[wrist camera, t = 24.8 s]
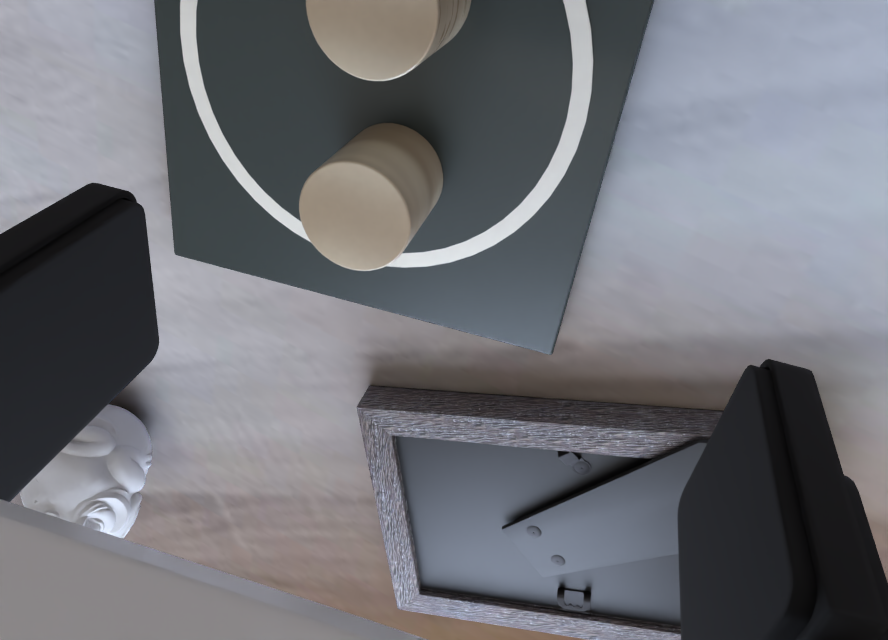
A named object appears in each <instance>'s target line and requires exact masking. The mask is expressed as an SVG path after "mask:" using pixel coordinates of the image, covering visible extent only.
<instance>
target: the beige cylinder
mask: <svg viewBox="0 0 888 640" xmlns="http://www.w3.org/2000/svg"><path fill="white" fill-rule="evenodd" d="M442 187H443V171H442V166H441V163H440V160H439V158H438V156H437V153H436V152H435V150H434V149H433V147H432V146H431V145H430V143H429V142H428V141H427V140H426V139H425V138H424V137H423V136H421V135H420V134H419V133H417V132H416V131H414V130H413V129H410V128H408V127H406V126H403V125H400V124H394V123H381V124H376V125H372V126H370V127H368V128H366V129H364V130H363V131H361V132H360V133H359V134H358V135H357V136H355V137H354V138H353V139H352V140H351V141H349V142H348V143H347V144H346V145H345V146H344V147H342V148H341V149H340V150H339V151H338V152H336V153H335V154H334V155H333V156H332V157H331V158H329V159H328V160H327V161H326V162H325V163H323V164H322V165H321V166H320V167H319V168H318V169H316V170H315V171H314V172H313V173H312V174H311V175H310V176H309V177H308V179H307V180H306V182H305V183H304V186H303V188H302V190H301V194H300V200H299V213H300V219H301V222H302V226H303V228H304V230H305V233H306V235H307V236H308V238H309V240H310V241H311V242H312V244H313V245H314V246H315V247H316V249H317V250H318V251H319V252H320V253H321V254H323V255H324V256H325V257H326V258H328V259H329V260H331V261H332V262H334V263H336V264H338V265H340V266H342V267H345V268H348V269H352V270H358V271H371V270H376V269H380V268H383V267H385V266H387V265H389V264H391V263H392V262H394V261H395V260H396V259H397V258H398V257H399V256H400V255H401V254H402V253H403V251H404V250H405V248H406V247H407V246H408V244H409V243H410V241H411V240H412V238H413V237H414V235H415V234H416V232H417V231H418V229H419V228H420V227H421V225H422V224H423V222H424V221H425V219H426V218H427V216H428V215H429V213H430V212H431V210H432V209H433V208H434V206H435V205H436V203H437V201H438V199H439V197H440V195H441V192H442Z"/></svg>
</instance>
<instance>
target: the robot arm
mask: <svg viewBox="0 0 888 640" xmlns="http://www.w3.org/2000/svg"><path fill="white" fill-rule="evenodd" d="M158 345H159V335H158V326H157V317H156V308H155V299H154V290H153V282H152V273H151V264H150V255H149V246H148V237H147V228H146V219H145V213H144V209H143V207H142V206H141V205H140V204H138V203H137V201H136V199H135V197H134V195H133V194H132V193H130V192H129V191H125V190H121V189H117V188H114V187H110V186H106V185H102V184H98V183H91V184H88V185H86V186H84V187H82V188H80V189H79V190H77V191H75V192H73V193H72V194H70V195H68V196H66V197H65V198H63V199H61V200H59V201H58V202H56V203H54V204H52V205H51V206H49V207H47V208H45V209H44V210H42V211H40V212H38V213H37V214H35V215H33V216H31V217H30V218H28V219H26V220H25V221H23V222H21V223H19V224H18V225H16V226H14V227H12V228H11V229H9V230H7V231H5V232H4V233H2V234H0V640H427V639H424V638H421V637H418V636H415V635H412V634H409V633H406V632H403V631H401V630H398V629H395V628H392V627H389V626H386V625H383V624H380V623H377V622H374V621H371V620H368V619H365V618H362V617H359V616H356V615H353V614H350V613H347V612H344V611H341V610H338V609H335V608H332V607H329V606H326V605H323V604H320V603H317V602H314V601H311V600H308V599H304V598H301V597H298V596H295V595H292V594H289V593H286V592H283V591H280V590H277V589H274V588H271V587H268V586H265V585H262V584H259V583H256V582H253V581H250V580H247V579H244V578H241V577H238V576H235V575H232V574H229V573H226V572H223V571H220V570H217V569H213V568H210V567H207V566H204V565H201V564H198V563H195V562H192V561H189V560H186V559H183V558H180V557H177V556H174V555H171V554H168V553H165V552H162V551H159V550H156V549H152V548H149V547H146V546H143V545H140V544H137V543H134V542H131V541H128V540H125V539H122V538H119V537H116V536H113V535H110V534H107V533H104V532H100V531H97V530H94V529H91V528H88V527H85V526H82V525H79V524H76V523H73V522H69V521H66V520H63V519H60V518H57V517H54V516H51V515H48V514H45V513H42V512H39V511H35V510H32V509H29V508H26V507H23V506H20V505H17V504H14V503H11V502H10V501H11V500H12V499H13V498H14V497H15V496H16V495H17V494H18V493H19V492H20V491H21V490H22V489H23V488H24V487H25V486H26V485H27V484H28V483H29V482H30V481H31V480H32V479H33V478H34V477H35V476H36V475H37V474H38V473H39V472H40V471H41V470H42V469H43V468H44V467H45V466H46V465H47V464H48V463H49V462H50V461H51V460H52V459H53V458H54V457H55V456H56V455H57V454H58V453H59V452H60V451H61V450H62V449H63V448H65V447H66V446H67V445H68V444H69V443H70V442H71V441H72V440H73V439H74V438H75V437H76V436H77V435H78V434H79V433H80V432H81V431H82V430H83V429H84V428H85V427H86V426H87V425H88V424H89V423H90V422H91V421H92V420H93V419H94V418H95V417H96V416H97V415H98V414H99V413H100V412H101V411H102V410H103V409H104V408H105V407H106V406H107V405H108V404H109V403H110V402H111V401H112V400H113V399H114V398H115V397H116V396H117V395H118V394H119V393H120V392H121V391H122V390H123V389H124V388H125V387H126V386H127V385H128V384H129V383H130V382H131V381H132V380H133V379H134V378H135V377H136V376H137V375H138V374H139V373H140V372H141V371H142V370H143V369H144V368H145V367H146V366H147V365H148V364H149V363H150V362H151V361H152V360H153V358H154V356H155V355H156V352H157V349H158ZM677 518H678V552H679V586H680V620H681V640H888V583H887V580H886V577H885V574H884V571H883V567H882V564H881V561H880V558H879V555H878V552H877V548H876V545H875V542H874V539H873V536H872V533H871V529H870V526H869V523H868V520H867V517H866V514H865V511H864V507H863V504H862V501H861V498H860V495H859V492H858V489H857V487H856V485H855V483H854V481H852V480H851V479H850V478H849V477H847V476H844V474H843V471H842V468H841V464H840V461H839V458H838V454H837V451H836V448H835V444H834V441H833V438H832V434H831V431H830V428H829V424H828V421H827V418H826V414H825V411H824V408H823V404H822V401H821V398H820V394H819V391H818V388H817V384H816V381H815V378H814V375H813V373H812V371H810V370H808V369H805V368H801V367H797V366H793V365H790V364H786V363H782V362H778V361H774V360H771V359H768V360H765V361H764V362H763V363H762V364H761V366H760V367H757V366H753V365H750V366H748V367H747V368H746V369H745V371H744V373H743V374H742V376H741V378H740V380H739V382H738V384H737V386H736V388H735V390H734V392H733V394H732V396H731V398H730V400H729V402H728V404H727V406H726V408H725V410H724V412H723V414H722V415H721V417H720V419H719V421H718V423H717V425H716V427H715V429H714V431H713V433H712V435H711V437H710V439H709V441H708V443H707V445H706V447H705V449H704V451H703V453H702V455H701V457H700V459H699V460H698V462H697V464H696V466H695V468H694V470H693V472H692V474H691V476H690V478H689V480H688V482H687V484H686V486H685V488H684V490H683V492H682V495H681V498H680V501H679V506H678V516H677Z"/></svg>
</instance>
